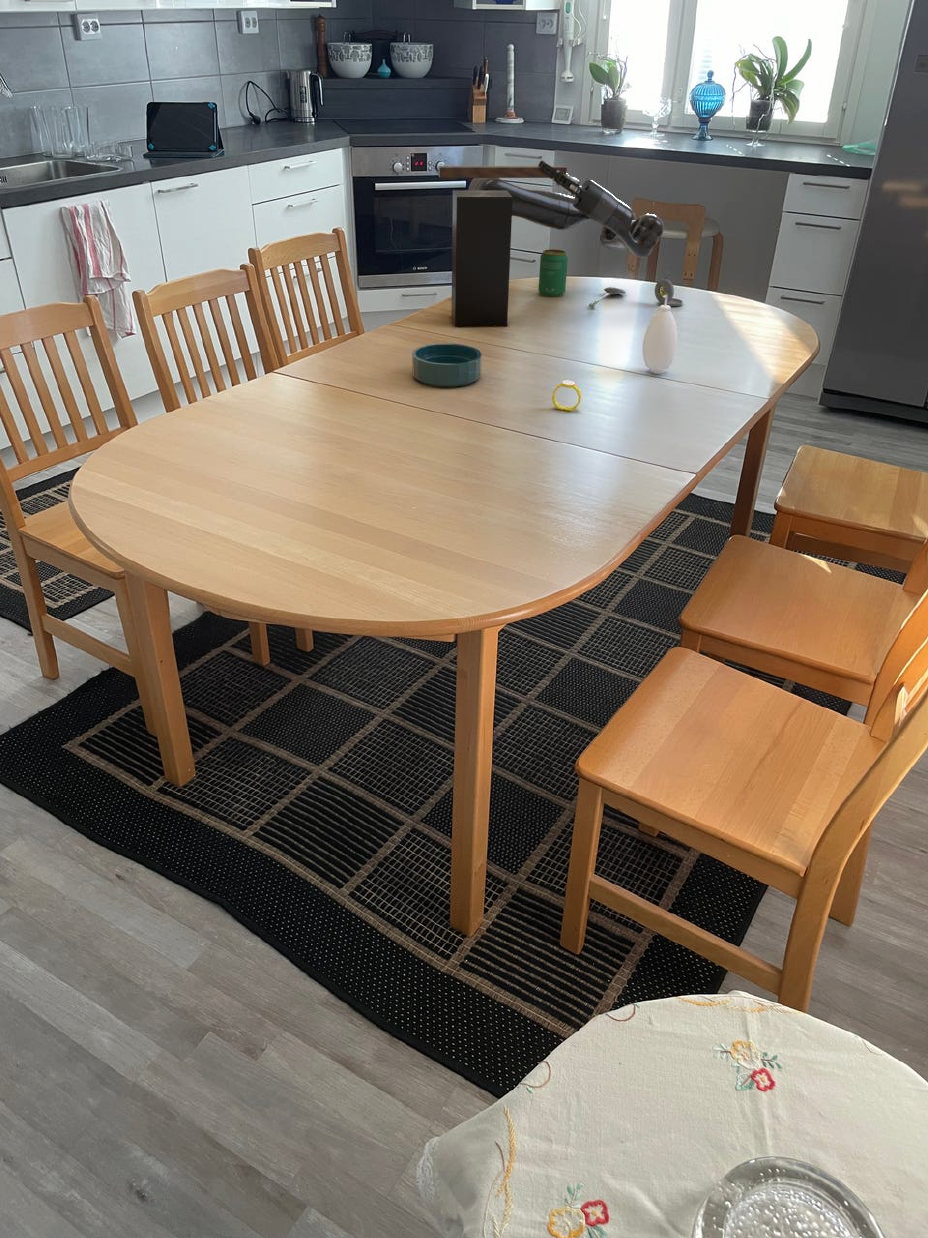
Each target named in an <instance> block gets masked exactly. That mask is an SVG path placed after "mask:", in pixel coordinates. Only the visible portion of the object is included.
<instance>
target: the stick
mask: <svg viewBox="0 0 928 1238" xmlns="http://www.w3.org/2000/svg"><path fill="white" fill-rule="evenodd" d="M550 166H551V167H553V168H554V169H555V170H559V171H560V172H561V173H563V174H565V173H566V174H568V173H567V172H568V167H567V166H565V165H550ZM540 167H541V166H538V165H438V177H439V179H474V178H500V179H550V177H549V176H547V175H546V174H544V173H543V172H541V171H540V170H539V169H540ZM555 172H556V171H555Z"/></svg>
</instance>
